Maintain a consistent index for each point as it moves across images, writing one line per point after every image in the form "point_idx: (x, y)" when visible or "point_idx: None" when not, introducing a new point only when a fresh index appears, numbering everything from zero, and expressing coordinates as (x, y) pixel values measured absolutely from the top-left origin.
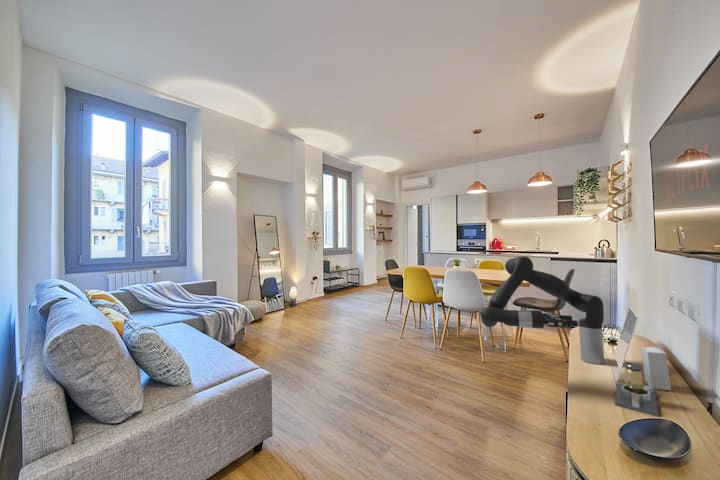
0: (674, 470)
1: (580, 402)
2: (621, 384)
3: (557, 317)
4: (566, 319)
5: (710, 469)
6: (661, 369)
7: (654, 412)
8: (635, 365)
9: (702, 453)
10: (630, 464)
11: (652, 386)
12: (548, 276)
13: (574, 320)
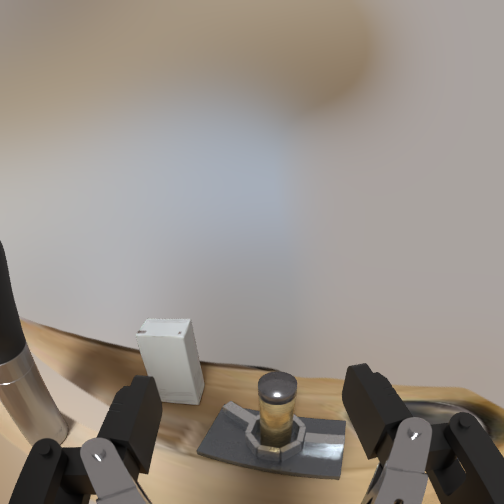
0: (492, 406)
1: None
2: (206, 447)
3: (378, 496)
4: (152, 433)
5: (458, 388)
6: (195, 358)
7: (344, 424)
8: (284, 380)
9: (428, 392)
10: None
11: (199, 401)
12: None
13: (358, 374)
